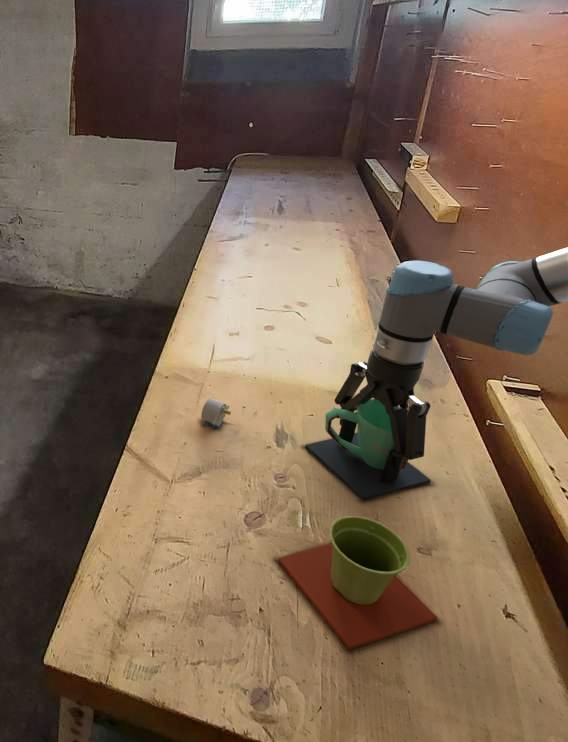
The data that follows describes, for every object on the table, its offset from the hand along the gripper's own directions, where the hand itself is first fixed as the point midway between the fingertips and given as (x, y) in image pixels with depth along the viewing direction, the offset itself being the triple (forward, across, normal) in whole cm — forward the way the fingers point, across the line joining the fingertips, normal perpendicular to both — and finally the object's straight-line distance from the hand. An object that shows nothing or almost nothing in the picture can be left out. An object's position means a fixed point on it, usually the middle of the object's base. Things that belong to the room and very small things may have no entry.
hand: (365, 460), depth 101 cm
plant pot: (0, +20, -21) cm, 29 cm away
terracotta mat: (+1, +20, -21) cm, 29 cm away
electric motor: (+1, -18, -19) cm, 26 cm away
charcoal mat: (+1, 0, 0) cm, 1 cm away
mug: (0, -1, 0) cm, 1 cm away
